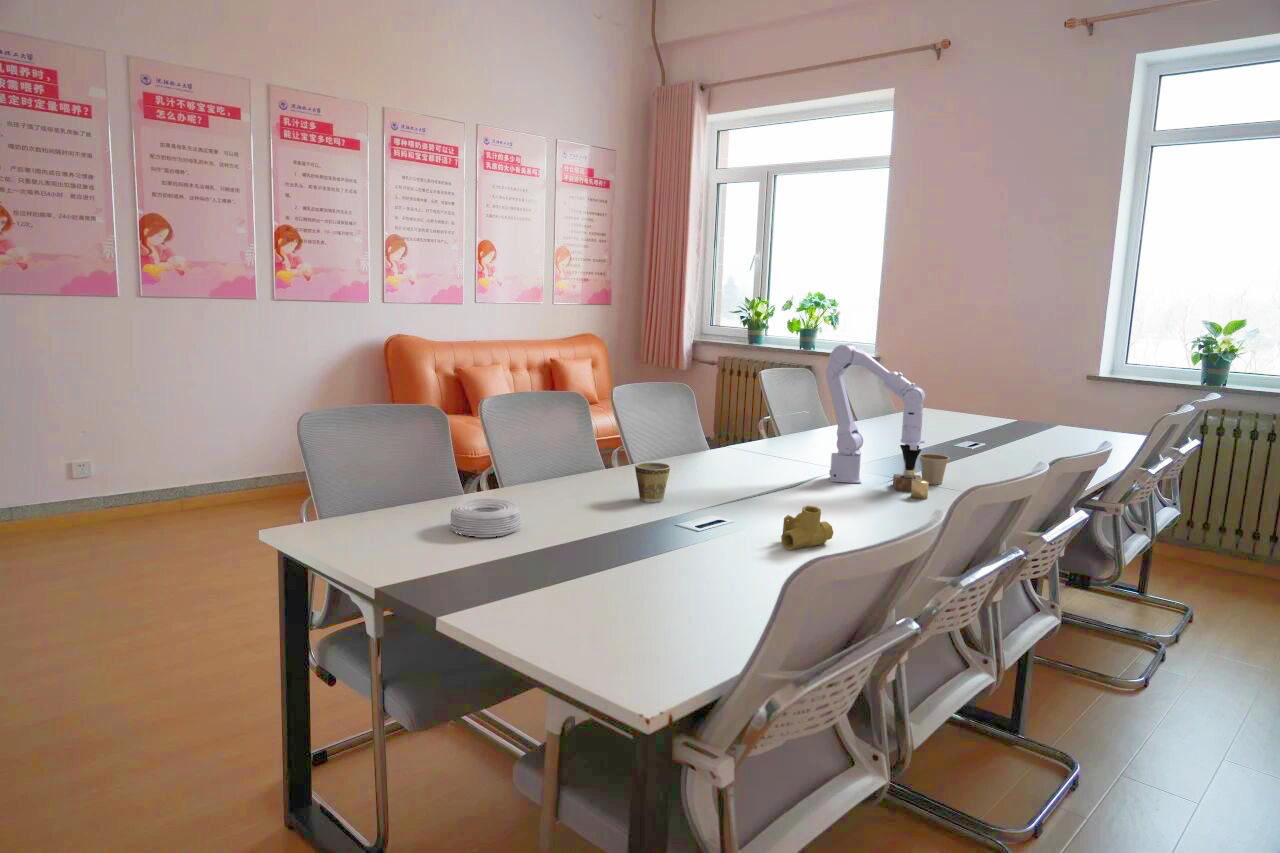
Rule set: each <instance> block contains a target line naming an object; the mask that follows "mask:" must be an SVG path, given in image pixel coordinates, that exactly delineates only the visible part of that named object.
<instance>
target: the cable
mask: <svg viewBox="0 0 1280 853" xmlns="http://www.w3.org/2000/svg"><path fill="white" fill-rule="evenodd" d="M449 517H450V520H449V522H450V524H449V526H450V528H451V531H453V532H454V531H455V532H457V533H461V534H463V535H468V536H467V537H469V536H476V537H475V538H496V536H497V537H503V536H506V535H509V534H512V533H514V532H516V531H517V530H519V528H520V527H521V525H522V522H523V521H522V517H521V511H520V509H519V506H517V505H516V504H515V503H514V502H511V501H509V500H505V499H501V498H500V499H498V498H476V499H470V500H466V501H463V502H460V503H458V504H456V505H455V506H454V507H453V508H452V509H451V510H450V516H449ZM457 533H456V534H457ZM463 535H462V536H463Z"/></svg>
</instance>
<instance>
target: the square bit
mask: <svg viewBox="0 0 1280 853" xmlns="http://www.w3.org/2000/svg"><path fill="white" fill-rule="evenodd" d="M915 471H916V465H915V466H914V469H913V470H906V467H905V459H903V471H902V472H903V473H902V474H903V477H904V478H908V479H914V475H916V473H915Z"/></svg>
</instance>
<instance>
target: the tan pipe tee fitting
mask: <svg viewBox="0 0 1280 853" xmlns="http://www.w3.org/2000/svg"><path fill="white" fill-rule="evenodd" d="M821 515H822V509H821V508H820V507H819V506H814V505H805V506H802V509H801V512H799V513H798V514H796V516H795V517H793V516H792V515H789V514H787V515H786V516H785V517H784V518H783V523H782V524H783V527H782V534H781V536H780V538H781V540H780V541H781V544H782V546H783V548H785V550H787V551H793V550H797V549H799V548H803V547H804V548H807V549H808V548H810V547H811V548H812V547H815V546H821V545H824V544H825V543H826V542H827V541H828V540H831V539H833V536H834V530H833V525H831V524H830V523H828V521H821Z"/></svg>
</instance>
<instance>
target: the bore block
mask: <svg viewBox="0 0 1280 853" xmlns="http://www.w3.org/2000/svg"><path fill="white" fill-rule="evenodd" d="M892 477H893V478H892V486H893V488H894V490H895V491H901V492H911V486H912V480H922V476H921V475H916V474H914V479H908V478H904V477H903V473H901V474H900V473H893V476H892Z"/></svg>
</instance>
